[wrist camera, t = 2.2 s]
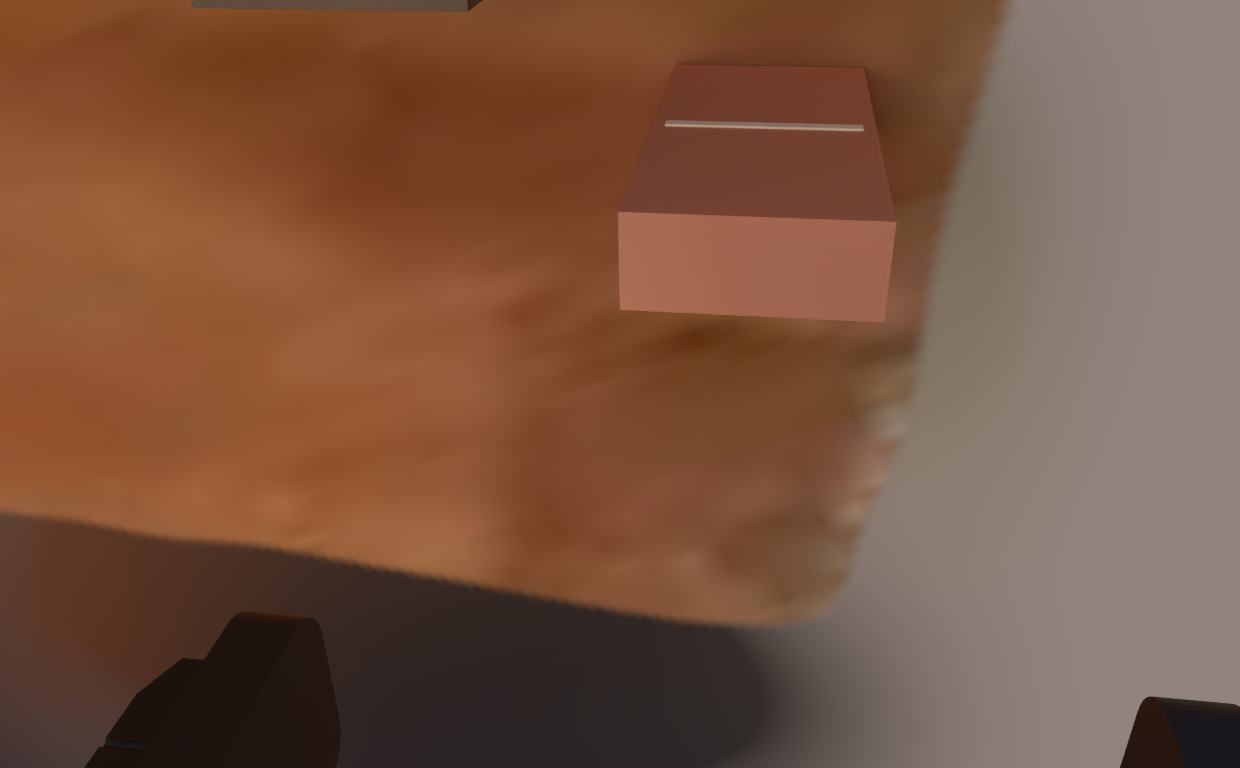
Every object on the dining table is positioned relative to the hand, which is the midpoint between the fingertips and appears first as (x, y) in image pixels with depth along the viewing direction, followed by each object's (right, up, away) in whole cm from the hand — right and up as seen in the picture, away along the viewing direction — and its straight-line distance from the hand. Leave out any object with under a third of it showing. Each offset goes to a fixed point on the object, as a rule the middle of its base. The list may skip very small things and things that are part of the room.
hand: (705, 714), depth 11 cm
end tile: (+3, +11, +19) cm, 22 cm away
